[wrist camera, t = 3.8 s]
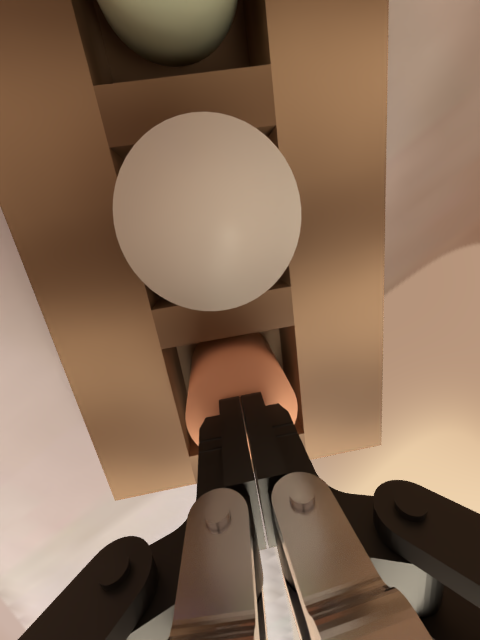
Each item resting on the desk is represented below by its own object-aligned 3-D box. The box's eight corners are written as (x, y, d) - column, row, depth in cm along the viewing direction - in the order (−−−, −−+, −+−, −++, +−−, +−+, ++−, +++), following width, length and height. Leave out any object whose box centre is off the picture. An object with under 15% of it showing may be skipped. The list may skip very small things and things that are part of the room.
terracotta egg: (183, 333, 13) (173, 376, 9) (268, 318, 13) (292, 354, 10) (200, 406, 14) (197, 470, 11) (277, 391, 15) (301, 448, 11)
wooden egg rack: (-43, -97, 9) (-195, -294, 5) (328, -128, 10) (394, -319, 6) (134, 442, 15) (115, 500, 12) (345, 400, 16) (381, 444, 13)
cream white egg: (136, 168, 9) (85, 125, 5) (258, 151, 9) (293, 98, 6) (165, 289, 10) (140, 324, 7) (271, 271, 11) (307, 295, 7)
